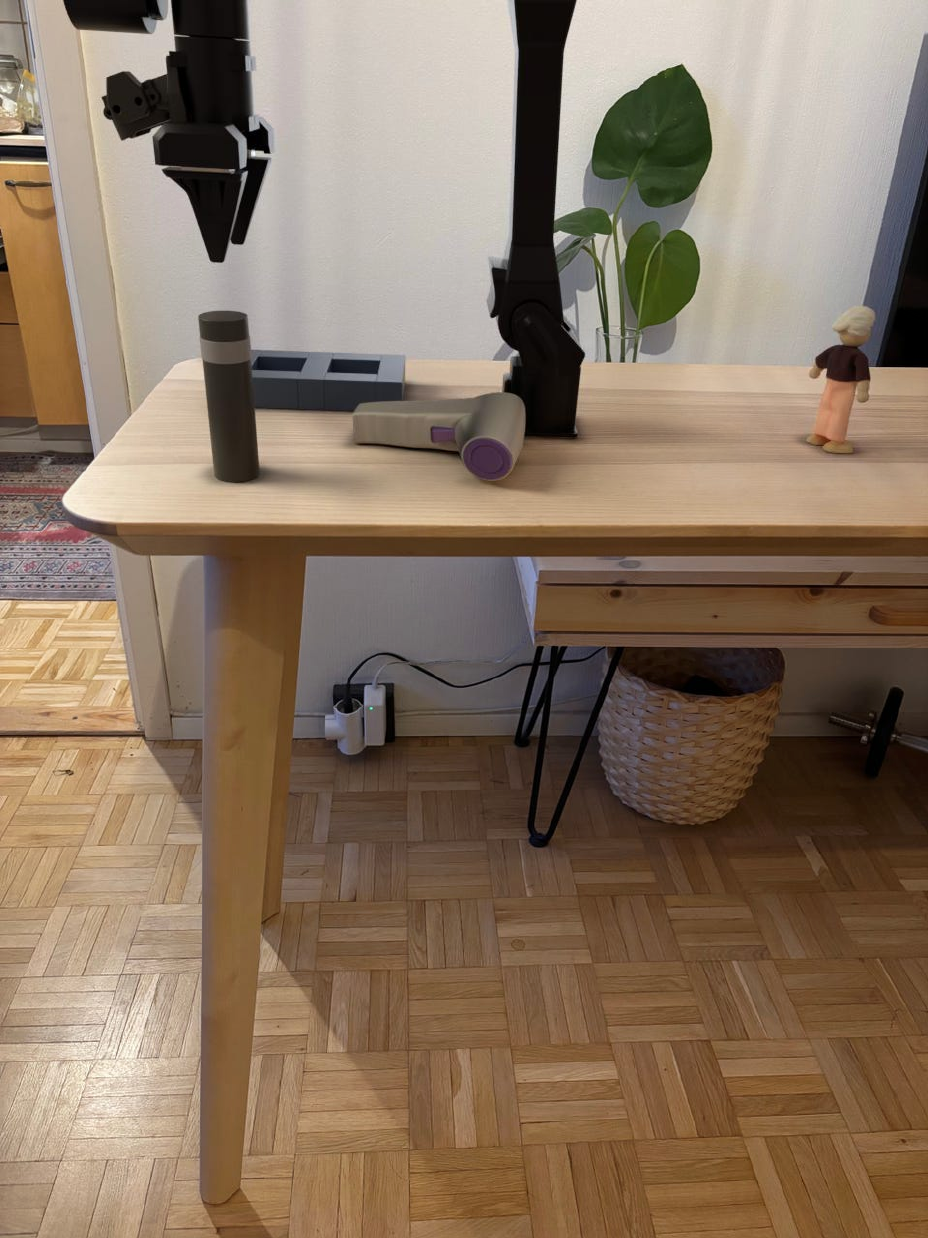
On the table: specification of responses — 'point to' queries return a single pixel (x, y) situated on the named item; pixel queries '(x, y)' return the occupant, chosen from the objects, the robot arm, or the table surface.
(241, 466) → the dark grey banded cylinder
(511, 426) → the infrared thermometer
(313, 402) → the grey flat block
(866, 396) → the grandmother figurine
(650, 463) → the table surface
